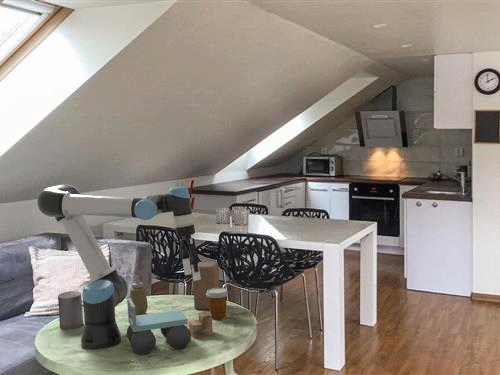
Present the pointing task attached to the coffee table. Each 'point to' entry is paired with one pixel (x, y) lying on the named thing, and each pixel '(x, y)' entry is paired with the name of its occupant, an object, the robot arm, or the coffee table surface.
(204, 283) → the block
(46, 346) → the coffee table surface
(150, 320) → the trolley
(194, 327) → the block
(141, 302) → the squeeze bottle
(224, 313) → the disposable coffee cup
